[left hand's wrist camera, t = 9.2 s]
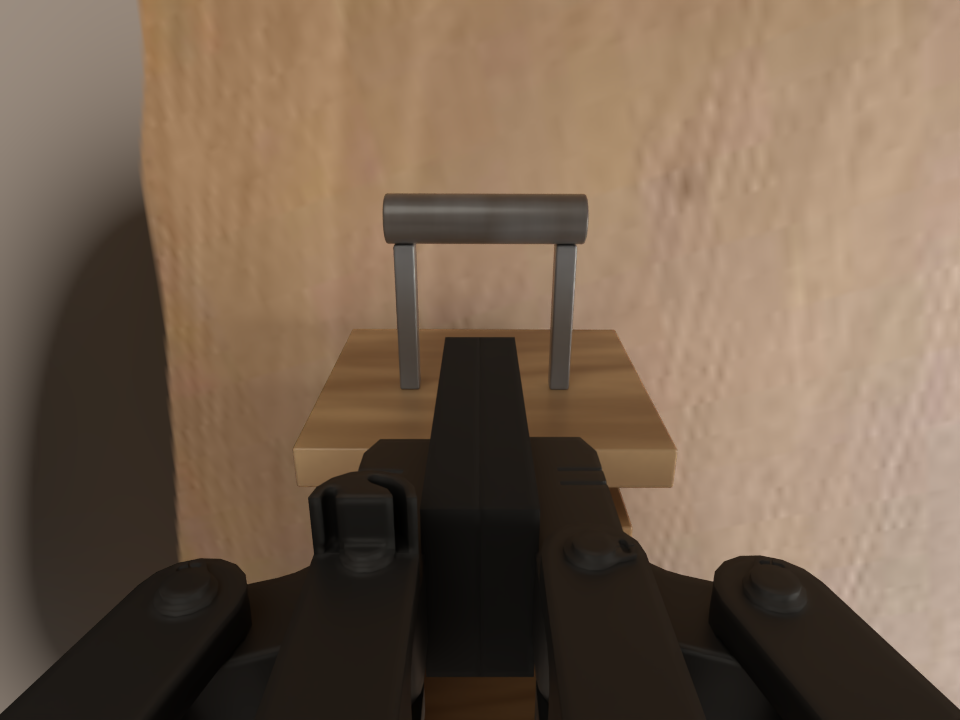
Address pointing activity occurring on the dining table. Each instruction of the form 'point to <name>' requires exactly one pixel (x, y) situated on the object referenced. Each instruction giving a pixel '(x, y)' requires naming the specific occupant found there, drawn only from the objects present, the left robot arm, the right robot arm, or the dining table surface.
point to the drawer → (544, 376)
